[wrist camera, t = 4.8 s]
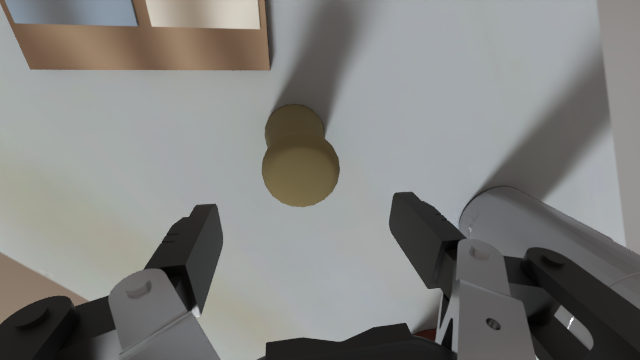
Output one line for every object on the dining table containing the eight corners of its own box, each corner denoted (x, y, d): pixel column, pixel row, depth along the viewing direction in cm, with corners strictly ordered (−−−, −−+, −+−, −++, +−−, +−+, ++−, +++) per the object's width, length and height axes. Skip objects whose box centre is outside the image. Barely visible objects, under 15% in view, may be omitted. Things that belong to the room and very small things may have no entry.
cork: (261, 104, 23) (246, 133, 13) (324, 103, 24) (354, 129, 14) (267, 163, 26) (258, 225, 16) (324, 161, 27) (348, 217, 17)
